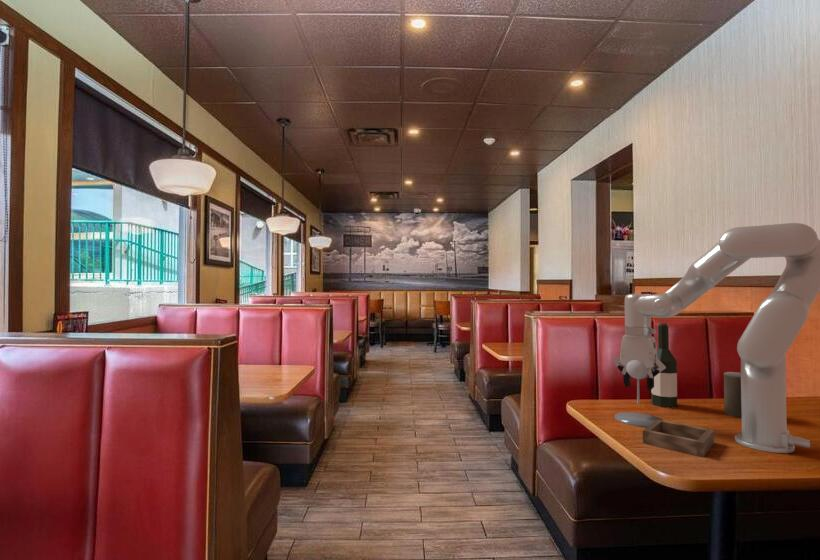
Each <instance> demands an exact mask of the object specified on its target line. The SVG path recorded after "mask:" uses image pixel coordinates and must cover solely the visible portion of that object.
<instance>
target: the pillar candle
mask: <svg viewBox="0 0 820 560" xmlns="http://www.w3.org/2000/svg"><path fill="white" fill-rule="evenodd" d="M723 396H724V397H723V398H724V399H723V402H724V403H723V412H724V414H726V415H727V416H729V417H734V418H738V419H742V412H741V372H739V371H737V372H735V371H726V372H723Z"/></svg>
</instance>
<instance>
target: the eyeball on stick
mask: <svg viewBox="0 0 820 560" xmlns="http://www.w3.org/2000/svg"><path fill="white" fill-rule="evenodd" d="M626 370H627V372H628V374H629V375H630V378H631V377H632V378H633V379H636V404H638V405H640V402H641V401H640V399H641V398H640V393H641V392H640V380H644V379H647V378H648V376H649V375H648V368H646V366H645V365H644V364H643V363H642V362H641V361H638V360H632V361H630V362H628V364H627V366H626Z"/></svg>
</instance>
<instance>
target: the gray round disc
mask: <svg viewBox="0 0 820 560" xmlns="http://www.w3.org/2000/svg"><path fill="white" fill-rule="evenodd" d="M614 419H615V420H616V421H617V422H620V423H623V424H625V425H629V426H633V427H639V428H647V427H648V426H649V425H650V424H652V423H653V422H654V421H656V420H657V419H658V420H663V419H662V418H661V417H658V416H655V415H653V414H647V413H640V412H632V411H631V412H629V411H628V412H626V411H625V412H618V413H616V414H615V415H614Z"/></svg>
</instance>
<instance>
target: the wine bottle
mask: <svg viewBox="0 0 820 560" xmlns="http://www.w3.org/2000/svg"><path fill="white" fill-rule="evenodd" d="M669 338H670V336H669V325H668V323H667V322H659V323H658V325H657V342H658V343H657V344H658V345H657V348H656V349H657V358H658V359H659V360H660V361H661V362H662V363H663V364H664V365H665V367H666V368H665V369H664V370H663V371H661V372H660V373H659V374H657V375H656V376H655V377H654V388H652V390H650V391H651V392H650V393H651V404H652V405H653V406H656V407H660V408H665V407H669V408H668V409H673V408H672V407H675V408H678V373H677V372H678V364H677V363H678V362H677V359H676V358H675V357H674V355H673V354H672V352H671V350H670V346H669V342H670V341H669V340H670V339H669ZM656 369H658V365H657V366H656V367H653V370H654V371H655V370H656Z"/></svg>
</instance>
